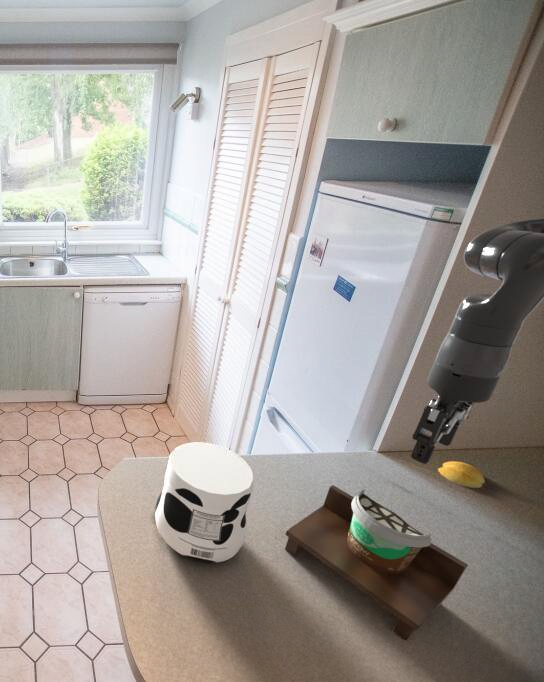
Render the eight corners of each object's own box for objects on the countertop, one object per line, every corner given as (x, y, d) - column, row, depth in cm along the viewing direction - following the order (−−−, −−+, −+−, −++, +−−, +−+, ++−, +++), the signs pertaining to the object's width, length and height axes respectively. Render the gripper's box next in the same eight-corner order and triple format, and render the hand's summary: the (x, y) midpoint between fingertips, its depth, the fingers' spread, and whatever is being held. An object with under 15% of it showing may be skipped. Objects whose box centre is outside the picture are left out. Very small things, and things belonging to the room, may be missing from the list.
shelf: (445, 604, 80) (468, 564, 76) (408, 645, 73) (430, 605, 69) (319, 520, 97) (332, 484, 93) (280, 548, 90) (292, 511, 86)
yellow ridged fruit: (430, 478, 109) (436, 465, 107) (444, 465, 113) (450, 452, 112) (474, 499, 103) (481, 486, 101) (487, 484, 107) (494, 471, 105)
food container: (323, 535, 87) (338, 495, 83) (346, 526, 89) (361, 487, 85) (389, 589, 77) (410, 547, 73) (413, 578, 79) (434, 536, 75)
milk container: (199, 495, 104) (213, 430, 96) (260, 554, 89) (282, 483, 82) (136, 517, 98) (145, 450, 90) (190, 584, 83) (206, 511, 76)
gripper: (456, 344, 74) (422, 426, 81) (417, 366, 68) (384, 454, 74) (518, 362, 68) (476, 449, 75) (483, 387, 62) (440, 480, 68)
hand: (430, 451), depth 75 cm, fingers open, 8 cm apart
